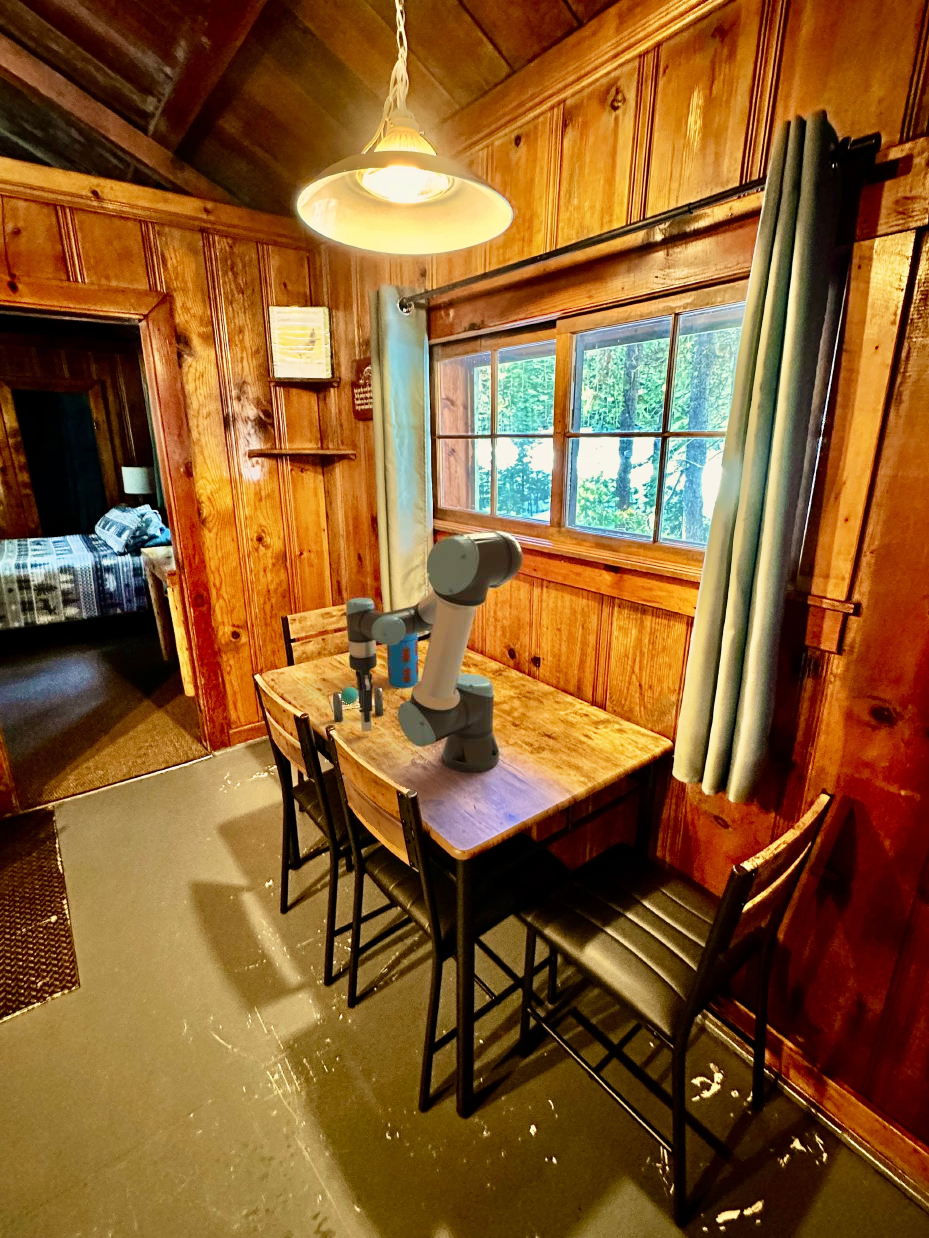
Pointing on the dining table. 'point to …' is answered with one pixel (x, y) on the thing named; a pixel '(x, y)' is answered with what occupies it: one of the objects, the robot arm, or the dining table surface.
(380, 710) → the post right
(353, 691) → the ball
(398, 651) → the thermos
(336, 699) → the post left
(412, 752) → the dining table surface
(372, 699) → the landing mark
